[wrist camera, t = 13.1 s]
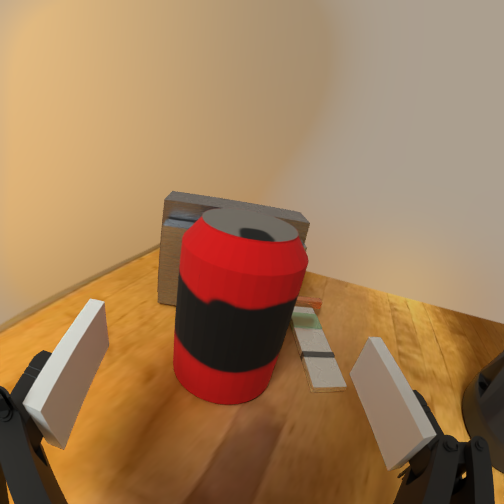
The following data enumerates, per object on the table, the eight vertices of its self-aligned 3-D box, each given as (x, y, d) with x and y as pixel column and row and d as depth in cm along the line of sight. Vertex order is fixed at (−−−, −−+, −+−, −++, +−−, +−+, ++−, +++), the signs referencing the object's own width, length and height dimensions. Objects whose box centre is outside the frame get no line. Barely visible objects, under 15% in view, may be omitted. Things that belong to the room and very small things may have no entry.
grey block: (302, 289, 36) (320, 229, 33) (317, 321, 29) (341, 253, 26) (169, 270, 33) (176, 205, 30) (157, 302, 27) (162, 225, 24)
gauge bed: (302, 293, 35) (325, 217, 32) (344, 391, 21) (397, 287, 17) (164, 274, 33) (172, 191, 29) (128, 374, 18) (120, 249, 15)
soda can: (171, 404, 17) (180, 238, 12) (175, 335, 24) (188, 198, 19) (278, 406, 19) (336, 257, 14) (259, 341, 25) (292, 213, 21)
